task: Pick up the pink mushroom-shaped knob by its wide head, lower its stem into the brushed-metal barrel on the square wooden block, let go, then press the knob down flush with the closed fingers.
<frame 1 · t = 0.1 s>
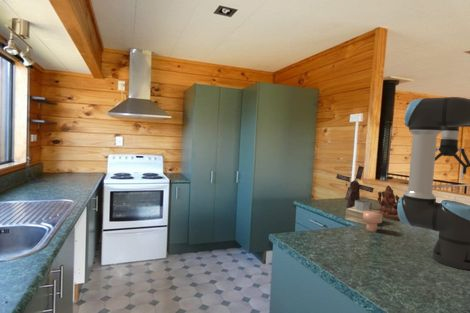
hand: (445, 178, 155), 28 cm above the worktop, fingers open, 13 cm apart
square wooden block: (362, 220, 168), on the worktop
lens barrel: (363, 205, 167), on the square wooden block, point 8 cm above the worktop
pink mushroom-shaped knob: (371, 230, 150), on the worktop
sculpture: (389, 217, 177), on the worktop
miniature windmill: (352, 208, 196), on the worktop
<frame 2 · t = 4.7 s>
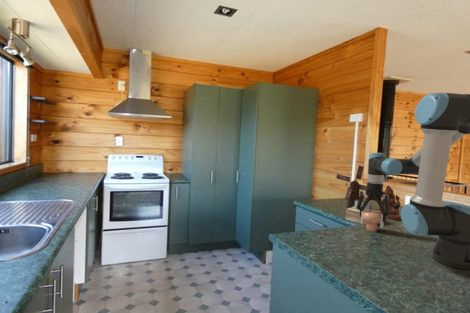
hand: (371, 225, 149), 2 cm above the worktop, fingers closed on pink mushroom-shaped knob, 9 cm apart
pink mushroom-shaped knob: (371, 230, 150), on the worktop, touching gripper
everything else where it was.
when the fingers open (12 cm above the worktop, at t = 9.6 s): pink mushroom-shaped knob drops 3 cm, resting on square wooden block, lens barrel.
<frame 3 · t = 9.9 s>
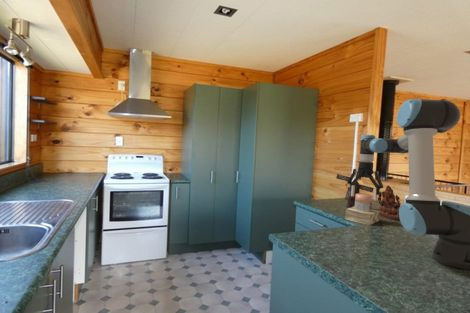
hand: (363, 198, 167), 13 cm above the worktop, fingers open, 12 cm apart
pink mushroom-shaped knob: (362, 210, 167), point 6 cm above the worktop, touching square wooden block, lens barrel
everything else where it was.
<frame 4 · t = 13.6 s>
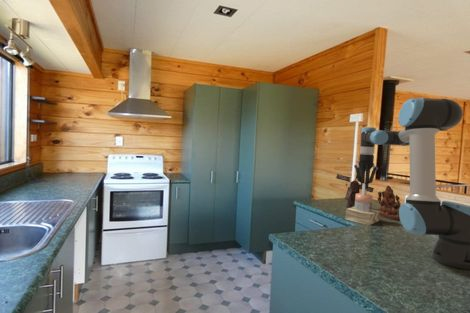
hand: (363, 194, 167), 15 cm above the worktop, fingers closed
pink mushroom-shaped knob: (362, 210, 167), point 6 cm above the worktop, touching square wooden block, gripper, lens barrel
everything else where it was.
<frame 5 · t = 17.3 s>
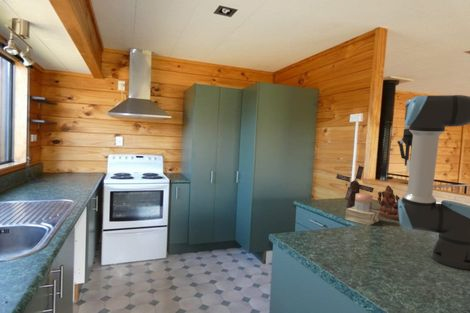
hand: (408, 171, 156), 30 cm above the worktop, fingers closed
pink mushroom-shaped knob: (362, 210, 167), point 6 cm above the worktop, touching square wooden block, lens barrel
everything else where it was.
at the end: pink mushroom-shaped knob 0.1 cm off-centre on the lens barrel, point 6.0 cm above the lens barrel's base; pink mushroom-shaped knob tilted 0°; the gripper is holding nothing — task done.
